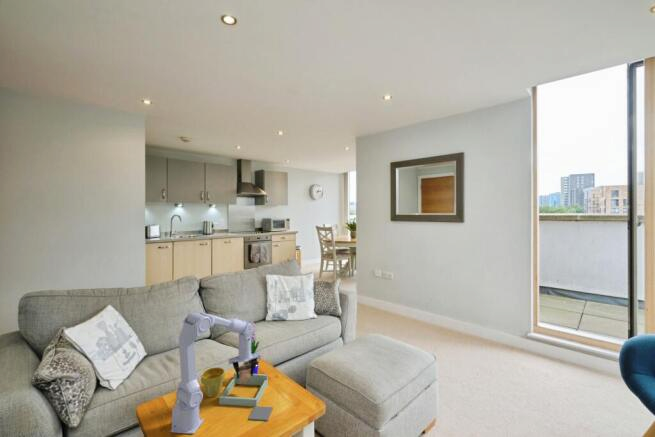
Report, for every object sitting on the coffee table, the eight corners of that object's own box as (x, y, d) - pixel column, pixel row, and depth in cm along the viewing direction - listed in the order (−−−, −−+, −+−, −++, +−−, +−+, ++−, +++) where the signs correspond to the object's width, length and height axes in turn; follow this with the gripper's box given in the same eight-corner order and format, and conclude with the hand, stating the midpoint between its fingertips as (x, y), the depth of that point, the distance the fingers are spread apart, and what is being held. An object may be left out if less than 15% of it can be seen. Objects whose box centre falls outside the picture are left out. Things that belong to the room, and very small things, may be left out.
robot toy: (196, 398, 137) (196, 393, 137) (185, 416, 125) (185, 410, 125) (180, 398, 137) (180, 393, 136) (167, 416, 125) (167, 410, 125)
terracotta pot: (236, 383, 137) (236, 370, 137) (241, 376, 143) (241, 364, 143) (248, 384, 136) (248, 371, 136) (253, 377, 142) (252, 364, 142)
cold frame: (219, 404, 132) (219, 393, 132) (234, 382, 149) (234, 372, 149) (256, 406, 130) (256, 395, 130) (267, 384, 147) (267, 374, 147)
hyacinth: (262, 371, 159) (263, 316, 159) (256, 382, 149) (256, 323, 149) (247, 370, 160) (247, 315, 160) (239, 381, 150) (239, 322, 150)
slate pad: (248, 419, 122) (248, 418, 122) (255, 407, 130) (255, 406, 130) (267, 421, 121) (267, 419, 121) (272, 408, 129) (272, 407, 129)
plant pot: (219, 400, 135) (219, 378, 134) (197, 399, 135) (197, 378, 135) (228, 387, 145) (228, 367, 145) (207, 386, 145) (207, 366, 145)
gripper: (229, 353, 133) (229, 384, 133) (262, 348, 139) (261, 377, 139) (228, 347, 139) (228, 376, 139) (259, 342, 145) (259, 369, 145)
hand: (244, 376), depth 139 cm, fingers closed on terracotta pot, 6 cm apart
